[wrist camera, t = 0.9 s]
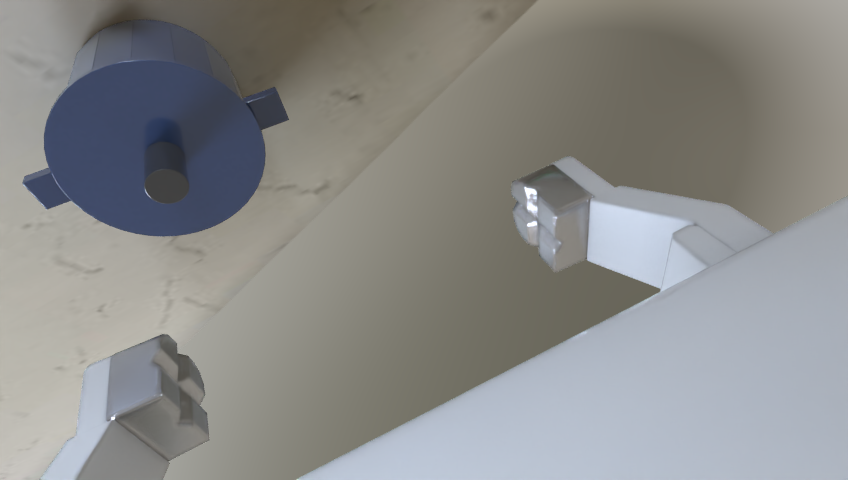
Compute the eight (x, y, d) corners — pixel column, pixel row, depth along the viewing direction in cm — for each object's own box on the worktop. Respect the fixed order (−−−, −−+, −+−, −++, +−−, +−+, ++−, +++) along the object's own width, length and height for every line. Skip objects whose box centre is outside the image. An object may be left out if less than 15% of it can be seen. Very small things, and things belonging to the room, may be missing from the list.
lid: (-9, 97, 30) (-31, 135, 26) (212, 25, 32) (222, 50, 28) (124, 252, 39) (123, 297, 35) (288, 187, 41) (302, 222, 38)
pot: (-7, 61, 36) (-44, 121, 29) (230, -13, 40) (250, 24, 32) (100, 193, 45) (91, 264, 38) (287, 123, 48) (313, 176, 41)
